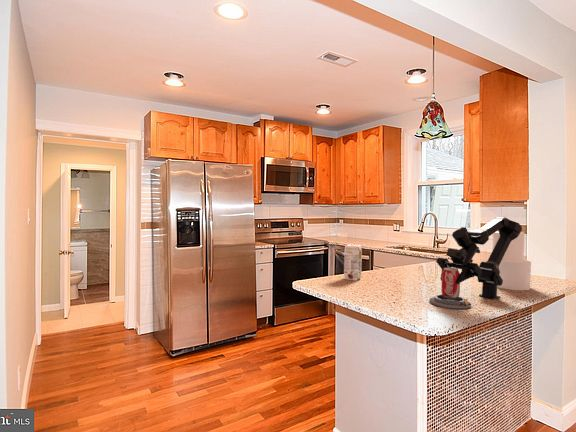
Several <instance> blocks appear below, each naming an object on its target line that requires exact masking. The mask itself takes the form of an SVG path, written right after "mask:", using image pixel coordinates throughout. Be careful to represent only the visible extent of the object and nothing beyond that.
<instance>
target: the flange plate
mask: <svg viewBox="0 0 576 432" xmlns="http://www.w3.org/2000/svg"><path fill="white" fill-rule="evenodd" d="M468 299H469V298H466V297H462V296H459V297H457V298H454V299H452V298H446V297H444V296H443V295H442V293H441V294H440V293H439V294H434V296H433V297H430V298H429V300H428V301H429V303H430V304H431V305H433V306H435V307H438V308H442V309H447V310H467V309H471V308H472V303H471V301H468Z"/></svg>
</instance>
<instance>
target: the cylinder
mask: <svg viewBox="0 0 576 432" xmlns="http://www.w3.org/2000/svg"><path fill="white" fill-rule="evenodd" d="M499 237H500V234H499V231H496V232H495V233H493V234H492V251H493V249H494V247H495V245H496V243H497V241H498V239H499ZM492 251H491V252H492ZM524 253H525V232H523V231H521V233H520V234H519V236H518V237H517V238H515V239H514V240H512V241H511V242H510V244H509V246H508V248H507V250H506V252H505V254H504V257H503V259H502V261H501V263H500V265H499V270H500V274H499V275H500V277H501V278H502V280H503V283H502V285H501V286H497V288H500V289H504V290H505V289H506V290H511V291H529V290H530V289H531V274H532V273H531V272H532V261H531V260H528V259H525V258H524V256H525V254H524Z"/></svg>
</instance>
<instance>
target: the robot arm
mask: <svg viewBox="0 0 576 432" xmlns="http://www.w3.org/2000/svg"><path fill="white" fill-rule="evenodd" d="M495 232H499V234H500V237H499V239H498V241H497V243H496V245H495V247H494V249H493V251H491V253H490V255H489V257H488V259H487V261H481V262H480V263H479V264H478V263H475V262H474V259H473V258H474V256H475V255H476V254H480V253H481V250H480V246H478V245H481V246H483V245H485V244H486V243H487V242H488V241H489V240H490V238H489V237H490V236H493V233H495ZM521 232H523V228H522V225H521V224H520V223H519V222H516V221H514V220H511V219H509V218H507V217H505V216H504V217H503V216H502V217H501V216H496V217H495V218H493V219H492V220H491V221H490V222H488V223H486V224H485V225H483V226H482V227H479V228H475V229H472V230H469V231H468V229H467V227H466V226H465V227H463V226H461V227H460V228H458V229H455V231H453V232H452V234H451V237H452V238H453V239H454V241H455V243H456V244H457V245H458V247H460V248H459V249H457V248H451V247H450V248H448V249H447V250H446V254H445V255H446V256H447V257H449V258H450V260H451V261H449V260H448V258H446V257H438V258H437V259H436V261H435V262H436V263H437V265H438V266H439V268H440V269H441V274H440V281H441V282H442V271H443V270H444V268H457V269H458V270H461V272H459V273H460V275H459V276H458V278H457V280H456V282H455V283H456V284H459V283H460V284H461V283H462V282H464V281H466V280H469V279H471V278H475V277H476V278H477V282H478V283H482V288H481V294H478V296H479V297H483V298H486V299H491V300H495V299H499V298H501V296H500V295H498V287H497V286H501V285H502V283H503V280H502V278H501V277H500V275H499V274H500V270H499V265H500V263H501V261H502V259H503V257H504V254H505V252H506V250H507V248H508V246H509V244H510V242H511V241H512V240H514V239H515V238H517V237H518V236H519V234H520V233H521Z"/></svg>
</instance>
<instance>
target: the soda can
mask: <svg viewBox="0 0 576 432" xmlns="http://www.w3.org/2000/svg"><path fill="white" fill-rule="evenodd" d="M441 273H442V281H441V287H440V288H441V294H442V295H443V296H444V297H446V298H452V299H454V298H457V297H460V294H461V293H460V292H461V291H460V290H461V288H460V287H461V283H459V284H456V283H455V282H456V280H457V278H458V276H459V275H460V273H461V272H460V270H459V269H457V268H453V267H451V268H444V270H443V271H442V270H441Z"/></svg>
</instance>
